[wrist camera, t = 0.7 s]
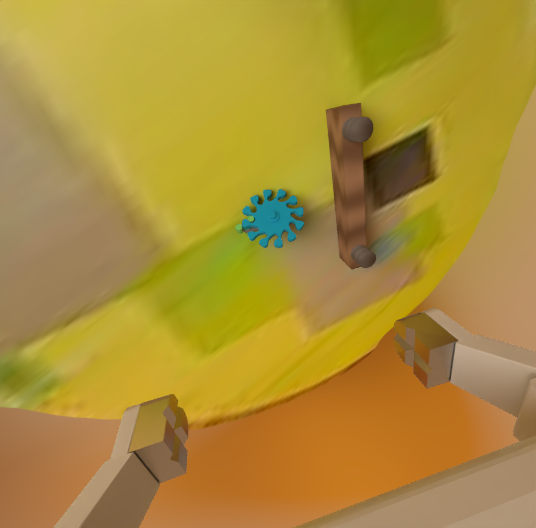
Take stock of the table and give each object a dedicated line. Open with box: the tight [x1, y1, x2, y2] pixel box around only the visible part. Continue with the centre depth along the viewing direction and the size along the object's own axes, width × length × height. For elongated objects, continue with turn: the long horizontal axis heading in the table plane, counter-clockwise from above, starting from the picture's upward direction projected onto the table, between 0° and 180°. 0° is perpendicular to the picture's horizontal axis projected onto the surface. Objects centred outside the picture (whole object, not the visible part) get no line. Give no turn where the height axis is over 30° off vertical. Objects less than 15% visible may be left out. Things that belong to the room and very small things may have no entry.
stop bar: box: [326, 103, 376, 269], centre depth 45 cm, size 26×3×8 cm, turn 12°
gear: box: [236, 189, 304, 248], centre depth 46 cm, size 11×6×10 cm
